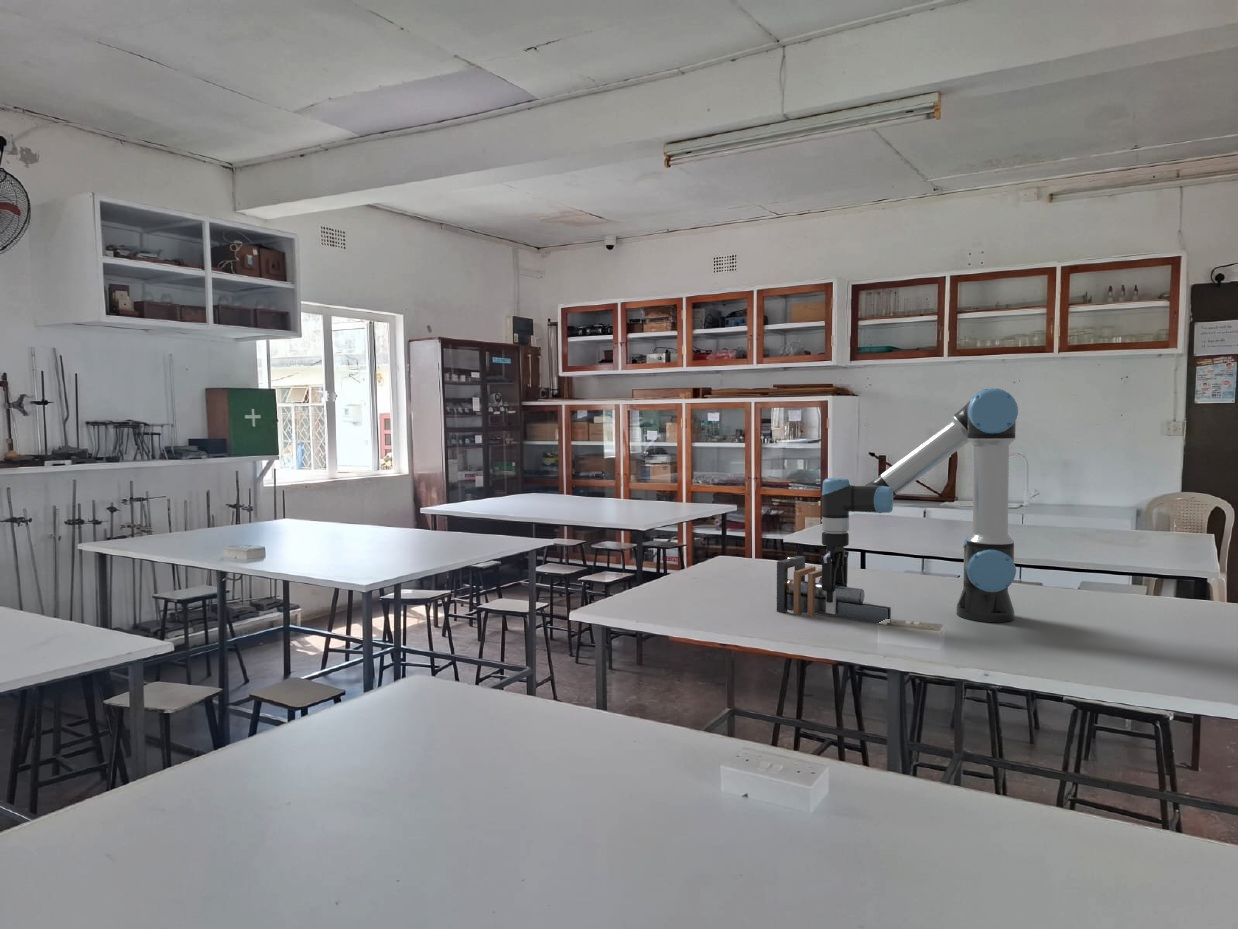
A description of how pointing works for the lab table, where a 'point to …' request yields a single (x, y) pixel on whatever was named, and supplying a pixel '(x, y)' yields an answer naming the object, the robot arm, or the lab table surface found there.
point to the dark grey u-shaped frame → (786, 579)
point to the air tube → (841, 592)
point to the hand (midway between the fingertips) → (834, 611)
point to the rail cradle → (846, 610)
